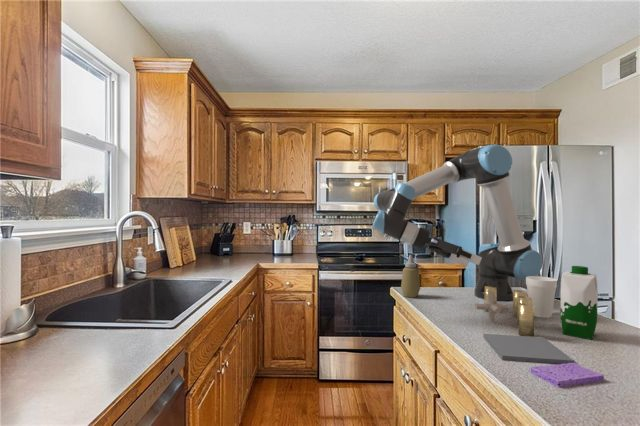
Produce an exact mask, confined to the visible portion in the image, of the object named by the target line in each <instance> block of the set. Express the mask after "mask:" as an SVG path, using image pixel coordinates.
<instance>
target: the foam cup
mask: <svg viewBox="0 0 640 426" xmlns="http://www.w3.org/2000/svg"><path fill="white" fill-rule="evenodd" d="M525 285H526V292H527V297H530V298H532V305H534V306H535V307H534V317H538V318H539V317H540V318H551V317H552V314H553V308H554V303H555V296H556V292H557V291H556V290H557V287H558V280H557V279H556V278H553V277H548V276H538V275H537V276H528V277H526V280H525Z"/></svg>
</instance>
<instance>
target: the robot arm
mask: <svg viewBox="0 0 640 426" xmlns="http://www.w3.org/2000/svg"><path fill="white" fill-rule="evenodd" d="M512 165H513V158H512V154H511V152H510V151H509V150H508V149H507V148H506V147H504V146H502V145H501V144H489V145H484V146H481V147H477V148H474V149H469V150H467V151H465V152H462V153H461V154H458V155H457V156H455V157H453V158H451V159H449V160H447V161H445V162H444V163H443V165H442V166H440V167H437V168H435V169H433V170H430V171H428V172H427V173H424V174H422V175H419V176H417V177H415V178H413V179H411V180H409V181H406V182H398V183H397V184H396V186H395V187H393V188H391V189H388V190H386V191H381V192H378V193H377V194H376V195H375V196H374V198H373V204H374V207H375V208H376V209H377V210H378V211H377V214H376V215H375V217H374V220H373V223H372V227H373V229H374V230H376V231H377V232H380V233H382V234H383V235H386V236H388V237H390V238H392V239H394V240H397V241H400V242H401V244H403V245H405V244H407V245H409V246H410V245H411V246H412V247H413V248H415V249H417V250H419V251H421V250H423V249H424V248H425V249H428V250H430V251H432V252H433V253H436V254H438V255H439V256H441V257H443V258H444V259H445V258H446V259H449V260H451V261H453V262H456V263H458V264H461V265H463V266H465V267H468V265H469V262H470V263H472V264H475V265H477V266H478V279H477V282H476V286H475V288H474V296H475V297H478V298H481V299H484V300H485V286H495V287H497V301H500V302H501V301H502V302H503V301H505V302H506V301H513V291H514V290H513V289H512V285H511V283H510V277H511V278H516V279H517V280H524V281H526V277H528V276H538V275H539V274H540V273H541V270H542V268H543V265H544V264H543V261H544V260H543V257H542V255H541V253H539V252H538V251H537V250H534V249H532V245H531V242H530V241H529V240H527V239H525V237H524V234H523V230H522V228H521V227H522V226H521V224H520V221H519V217H518V215H517V211H516V207H515V204H514V202H513V197H512V194H511V192H510V188H509V185H508V181H507V180H509V177H510V173H509V172H510V171H511V168H512ZM470 179H475V181H476V184H477V186H480V187H481V188H482V189H483V192H484V195H485V198H486V202H487V206H488V209H489V212H490V215H491V218H492V222H493V225H494V228H495V232H496V234H497V237H498V241H499V243H483V244H480V246H479V249H478V255H477V254H476V253H473V252H471V251H468V250H466V249H465V248H463V247H462V246H461V245H457V244H454V243H451V242H448V241H446V240H443V239H440V238H437V237H435V236H432V237H429V236H430V234H431V233H430V230H429V229H426V228H424V227H419V225H417V224H415V223H412V222H410V221H409V220H408V221H407V220H405V218H406V215H407V213H408V211H409V210H410V207H411V205H412V203H413V202H414V200H415V199H417V198H420V197H421V196H424V195H426V194H428V193H430V192H433V191H436V190H437V189H439V188H441V187H443V186H447V185H448V184H450V183H452V184H456V183H458V182H461V181H465V180H470Z"/></svg>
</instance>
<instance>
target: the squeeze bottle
mask: <svg viewBox="0 0 640 426" xmlns="http://www.w3.org/2000/svg"><path fill="white" fill-rule="evenodd" d="M404 266H405V267H404V268H403V269H402V276H401V282H400V283H401V284H400V289H401V291H402V292H401V293H402V295H403V297H405V298H418V297H419V296H418V295H419V293H420V290H421V283H420V272H419V269H418V268H417V262H414V257H413V254H409V256H408V260H407V262H405V264H404Z"/></svg>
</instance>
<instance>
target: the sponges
mask: <svg viewBox="0 0 640 426" xmlns="http://www.w3.org/2000/svg"><path fill="white" fill-rule="evenodd" d="M529 371H530V374H532V375H533V376H535V377H537V376H538V378H539V377H540V379H541V378H542V379H541V380H543V379H544V381H545V380H546V381H545V382H547V381H548V382H547V383H549V382H550V383H549V384H551V383H552V384H551V385H553V386H554V387H556V386H557V387H556V388H564V387H569V386H577V385H584V384H590V383H591V384H592V383H598V382H603V380H605V375H604V374H602V373H599V372H597V371H594V370H591V369H588V368H586V367H584V366H581V365H579V364H577V363H576V362H574V363H568V364H550V365H540V366H539V365H535V366H530V369H529ZM563 386H564V387H563Z"/></svg>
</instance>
